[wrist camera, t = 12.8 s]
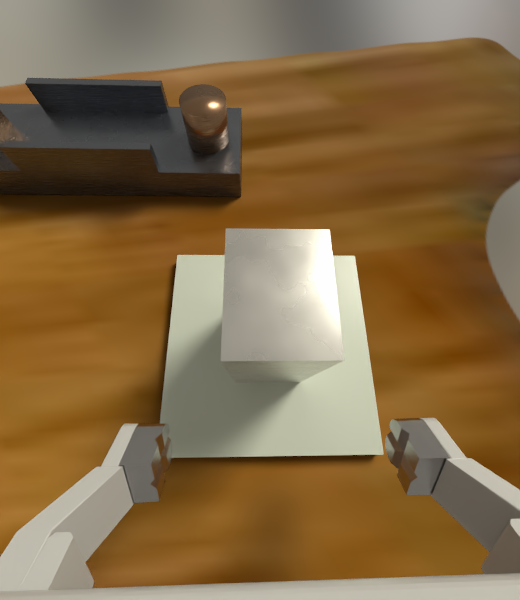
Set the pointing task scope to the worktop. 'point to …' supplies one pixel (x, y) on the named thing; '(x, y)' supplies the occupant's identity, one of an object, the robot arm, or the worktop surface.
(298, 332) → the grey rectangular block
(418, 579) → the robot arm
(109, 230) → the worktop surface
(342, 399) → the cutting board
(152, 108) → the hand plane
